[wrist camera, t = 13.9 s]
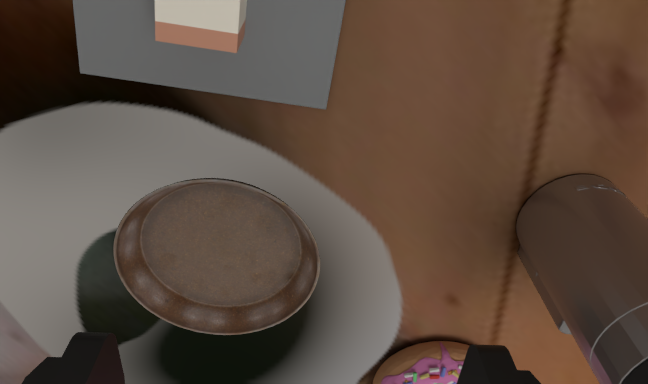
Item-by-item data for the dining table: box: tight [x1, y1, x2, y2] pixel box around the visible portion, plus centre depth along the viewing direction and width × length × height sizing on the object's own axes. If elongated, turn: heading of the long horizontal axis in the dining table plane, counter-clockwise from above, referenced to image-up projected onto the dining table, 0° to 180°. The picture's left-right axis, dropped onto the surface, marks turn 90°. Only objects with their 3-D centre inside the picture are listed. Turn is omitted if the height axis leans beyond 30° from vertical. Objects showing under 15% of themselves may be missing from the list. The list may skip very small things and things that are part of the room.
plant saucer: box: [114, 178, 320, 335], centre depth 44 cm, size 18×18×3 cm
